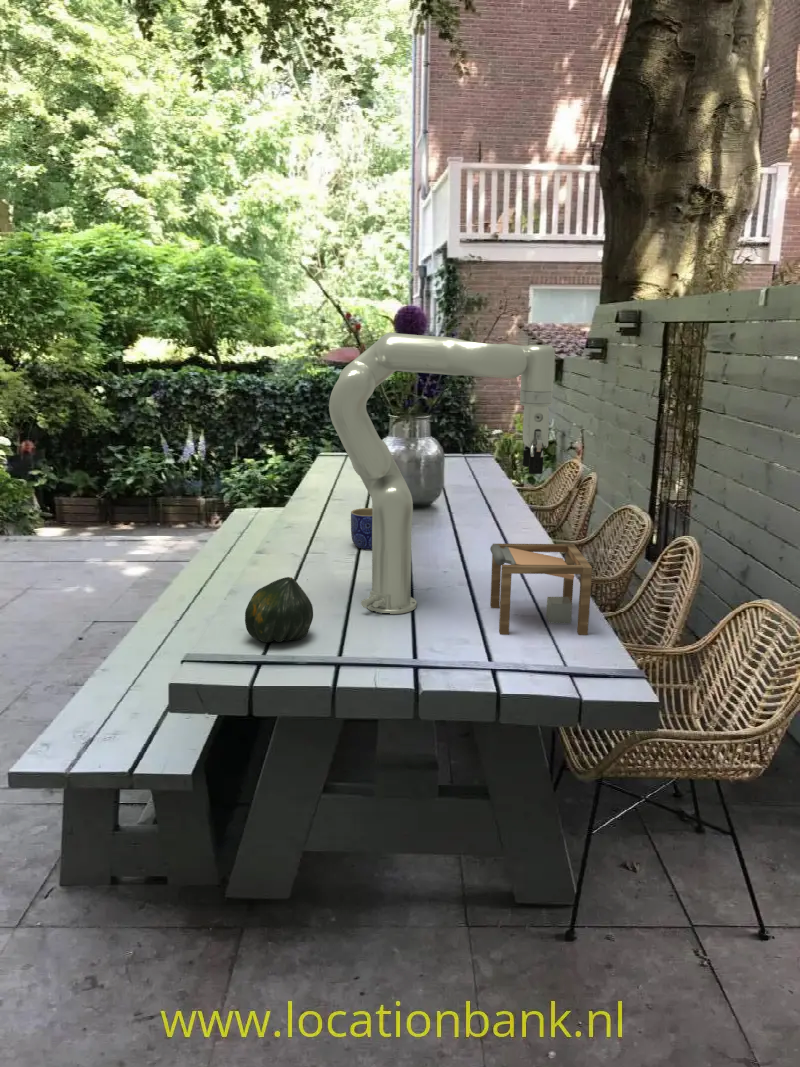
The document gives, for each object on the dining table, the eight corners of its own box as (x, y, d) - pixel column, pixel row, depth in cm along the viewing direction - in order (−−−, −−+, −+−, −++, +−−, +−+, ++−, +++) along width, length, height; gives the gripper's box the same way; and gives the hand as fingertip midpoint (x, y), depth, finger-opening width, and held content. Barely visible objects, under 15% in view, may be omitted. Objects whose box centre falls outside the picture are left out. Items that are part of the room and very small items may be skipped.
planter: (387, 542, 273) (388, 508, 270) (383, 552, 262) (384, 516, 260) (353, 541, 274) (353, 507, 271) (348, 550, 263) (348, 515, 261)
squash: (226, 611, 194) (252, 572, 185) (280, 599, 204) (307, 562, 195) (253, 664, 189) (281, 627, 180) (307, 649, 199) (336, 613, 190)
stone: (549, 623, 204) (570, 623, 204) (550, 603, 203) (572, 603, 203) (546, 616, 209) (566, 616, 209) (547, 596, 208) (567, 596, 208)
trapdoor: (572, 582, 197) (575, 572, 197) (495, 566, 196) (497, 556, 195) (560, 564, 211) (563, 555, 210) (488, 550, 210) (490, 540, 209)
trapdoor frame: (587, 634, 197) (592, 567, 193) (500, 634, 197) (502, 567, 193) (570, 605, 216) (573, 544, 212) (490, 605, 216) (492, 543, 212)
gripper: (558, 402, 196) (554, 476, 200) (546, 395, 213) (542, 464, 217) (525, 402, 196) (521, 476, 200) (515, 394, 213) (512, 463, 217)
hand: (532, 469), depth 208 cm, fingers open, 9 cm apart
